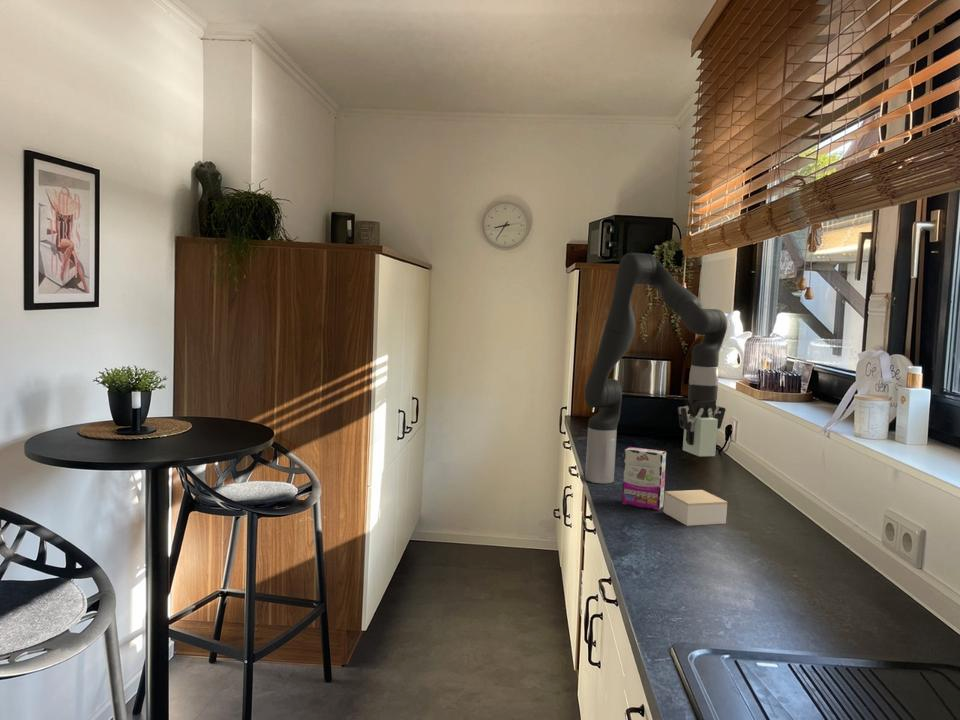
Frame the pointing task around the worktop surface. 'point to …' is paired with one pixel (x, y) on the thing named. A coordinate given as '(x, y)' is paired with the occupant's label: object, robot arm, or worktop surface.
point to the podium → (695, 507)
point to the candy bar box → (644, 478)
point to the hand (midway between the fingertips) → (699, 444)
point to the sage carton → (702, 437)
